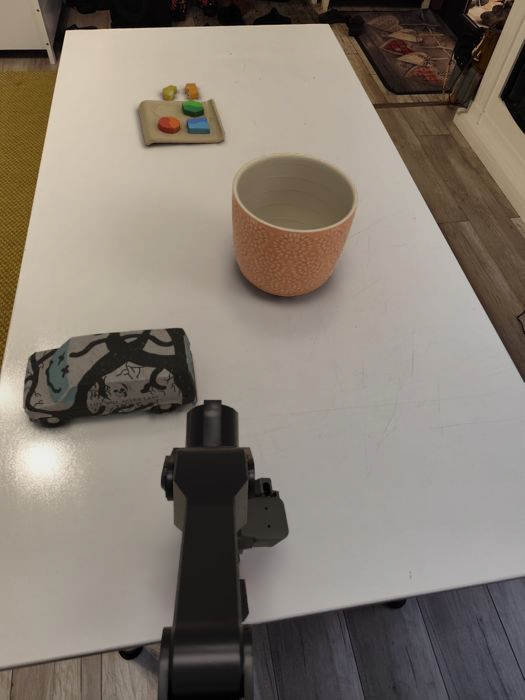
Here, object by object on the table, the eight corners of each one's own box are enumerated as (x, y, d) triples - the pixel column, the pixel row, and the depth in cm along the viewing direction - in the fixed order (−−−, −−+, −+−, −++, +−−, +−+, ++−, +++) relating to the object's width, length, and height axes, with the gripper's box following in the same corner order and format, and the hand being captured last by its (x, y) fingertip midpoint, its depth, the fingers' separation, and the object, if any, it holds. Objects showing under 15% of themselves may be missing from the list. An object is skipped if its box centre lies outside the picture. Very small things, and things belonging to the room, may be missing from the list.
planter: (214, 246, 103) (215, 161, 88) (309, 226, 108) (326, 144, 93) (251, 324, 92) (259, 243, 77) (354, 298, 98) (381, 218, 82)
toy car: (36, 372, 83) (17, 333, 75) (191, 356, 87) (189, 318, 79) (31, 431, 77) (10, 397, 69) (199, 411, 81) (197, 376, 73)
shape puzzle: (226, 143, 124) (226, 129, 121) (145, 148, 120) (144, 135, 117) (207, 88, 138) (207, 75, 135) (135, 91, 134) (133, 78, 132)
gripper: (304, 599, 50) (286, 623, 63) (272, 425, 60) (261, 476, 73) (188, 618, 48) (193, 639, 61) (175, 436, 59) (182, 486, 71)
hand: (211, 553), depth 67 cm, fingers closed
